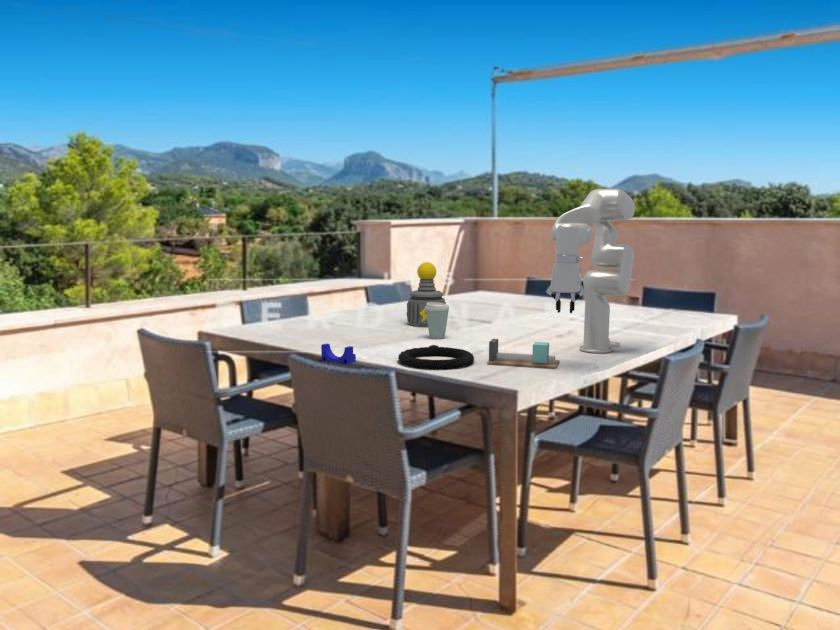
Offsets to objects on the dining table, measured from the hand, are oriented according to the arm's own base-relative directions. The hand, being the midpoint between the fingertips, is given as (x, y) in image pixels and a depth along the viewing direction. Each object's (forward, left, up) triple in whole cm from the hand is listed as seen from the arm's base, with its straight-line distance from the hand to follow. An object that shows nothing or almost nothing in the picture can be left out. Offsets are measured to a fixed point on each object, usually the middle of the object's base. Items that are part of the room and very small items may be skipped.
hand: (565, 312), depth 257 cm
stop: (+25, 0, -19) cm, 32 cm away
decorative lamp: (+73, -77, -20) cm, 108 cm away
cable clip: (+78, +17, -20) cm, 83 cm away
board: (+14, 0, -19) cm, 24 cm away
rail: (+14, 0, -19) cm, 24 cm away
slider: (+8, 0, -18) cm, 20 cm away
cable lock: (+45, +6, -20) cm, 50 cm away
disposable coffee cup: (+58, -42, -19) cm, 74 cm away
